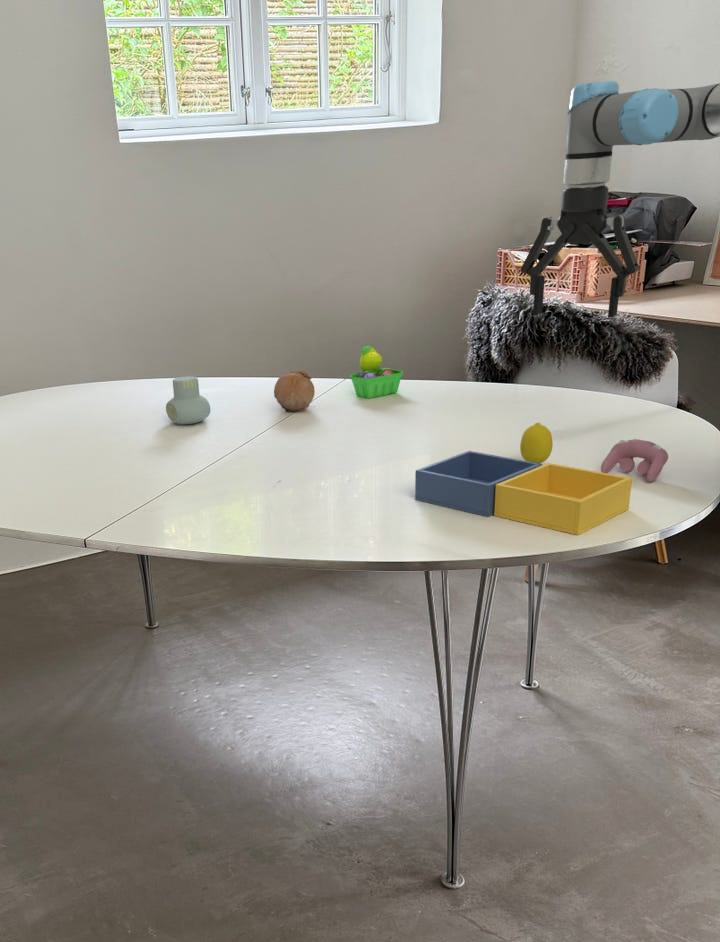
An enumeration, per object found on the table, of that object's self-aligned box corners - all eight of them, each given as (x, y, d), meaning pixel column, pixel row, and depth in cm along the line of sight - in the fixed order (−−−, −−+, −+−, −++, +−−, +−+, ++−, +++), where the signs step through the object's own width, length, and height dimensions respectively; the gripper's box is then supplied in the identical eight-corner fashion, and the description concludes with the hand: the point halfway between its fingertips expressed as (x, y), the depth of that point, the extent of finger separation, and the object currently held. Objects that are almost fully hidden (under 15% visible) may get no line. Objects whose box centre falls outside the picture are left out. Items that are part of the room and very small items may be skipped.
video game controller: (661, 487, 161) (675, 447, 160) (651, 481, 157) (665, 440, 156) (607, 477, 168) (620, 438, 167) (596, 471, 164) (609, 432, 163)
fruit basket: (367, 400, 229) (366, 352, 224) (346, 395, 236) (345, 348, 232) (404, 392, 234) (405, 345, 229) (383, 387, 241) (382, 341, 236)
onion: (306, 419, 229) (321, 378, 227) (304, 417, 220) (320, 375, 218) (270, 405, 230) (284, 365, 227) (266, 403, 220) (281, 361, 218)
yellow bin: (628, 509, 148) (632, 477, 145) (578, 535, 139) (581, 502, 137) (546, 492, 158) (548, 462, 156) (494, 515, 149) (495, 484, 147)
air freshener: (214, 423, 219) (211, 379, 215) (181, 429, 216) (177, 384, 212) (196, 415, 228) (192, 372, 224) (164, 420, 225) (159, 377, 221)
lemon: (512, 468, 171) (515, 424, 168) (530, 460, 175) (532, 417, 171) (540, 473, 168) (543, 428, 164) (556, 465, 171) (560, 421, 167)
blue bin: (540, 493, 158) (542, 463, 155) (488, 516, 149) (489, 485, 147) (467, 478, 168) (468, 450, 165) (414, 499, 159) (415, 470, 157)
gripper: (668, 181, 159) (651, 313, 168) (523, 187, 172) (515, 309, 182) (655, 184, 153) (639, 320, 163) (507, 190, 167) (500, 315, 177)
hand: (574, 315), depth 173 cm, fingers open, 13 cm apart
